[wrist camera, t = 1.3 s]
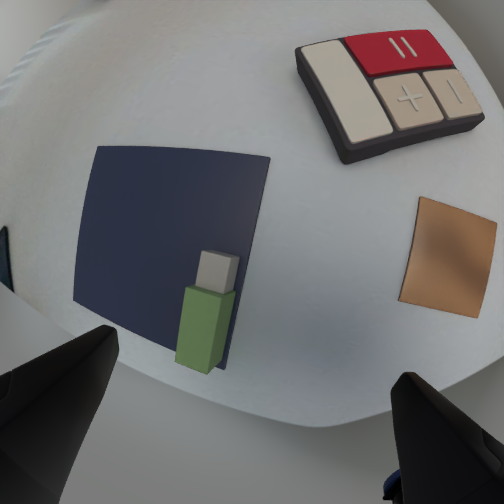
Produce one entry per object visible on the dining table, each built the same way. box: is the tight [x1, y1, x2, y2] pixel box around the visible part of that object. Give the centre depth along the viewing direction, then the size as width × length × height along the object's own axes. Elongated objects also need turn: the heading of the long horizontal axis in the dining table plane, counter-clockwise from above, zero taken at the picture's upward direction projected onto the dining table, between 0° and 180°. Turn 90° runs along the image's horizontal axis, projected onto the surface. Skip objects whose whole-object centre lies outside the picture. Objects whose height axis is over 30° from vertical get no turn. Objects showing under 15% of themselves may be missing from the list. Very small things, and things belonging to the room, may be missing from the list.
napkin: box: [73, 146, 270, 370], centre depth 27 cm, size 20×22×1 cm
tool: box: [175, 250, 240, 374], centre depth 23 cm, size 10×3×4 cm, turn 167°
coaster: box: [399, 196, 497, 318], centre depth 19 cm, size 9×9×1 cm
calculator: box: [295, 30, 485, 164], centre depth 18 cm, size 11×4×15 cm
